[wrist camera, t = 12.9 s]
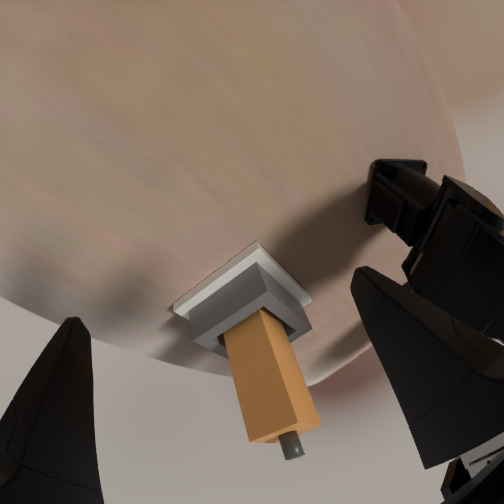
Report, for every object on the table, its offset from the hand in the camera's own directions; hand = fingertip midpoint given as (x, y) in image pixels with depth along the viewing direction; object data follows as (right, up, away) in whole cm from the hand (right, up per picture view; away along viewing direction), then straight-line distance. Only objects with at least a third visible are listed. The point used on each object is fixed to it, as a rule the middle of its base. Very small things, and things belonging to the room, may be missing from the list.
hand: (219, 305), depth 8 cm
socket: (0, -3, +19) cm, 20 cm away
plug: (0, -4, +19) cm, 19 cm away
